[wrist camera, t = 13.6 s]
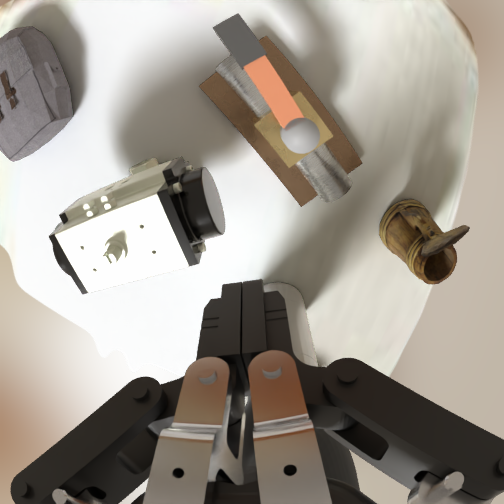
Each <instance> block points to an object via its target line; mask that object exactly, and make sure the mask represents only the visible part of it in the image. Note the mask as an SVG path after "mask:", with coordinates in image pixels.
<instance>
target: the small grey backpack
mask: <svg viewBox="0 0 504 504" xmlns="http://www.w3.org/2000/svg"><path fill="white" fill-rule="evenodd" d="M72 117H73V109H72V102H71V93H70V87H69V84H68V82H67V79H66V77H65V74H64V72H63V69H62V66H61V64H60V62H59V59H58V57H57V55H56V53H55V50H54V48H53V46H52V43H51V42H50V41H49V40H48V39H47V37H46V36H45V35H44V34H43V33H42V32H40V31H39V30H37V29H36V28H34V27H33V26H32V27H22V28H16V29H14V30H11V31H9V32H8V33H7V34H5V35H4V36H3V37H1V38H0V151H1V152H2V153H3V154H4V155H5V156H6V157H7V158H8V159H9V160H11V161H13V162H14V161H17V160H20V159H22V158H24V157H26V156H28V155H30V154H32V153H33V152H35V151H37V150H38V149H39V148H41V147H42V146H43V145H45V144H46V143H47V142H49V141H50V140H51V139H52V138H53V137H55V136H56V135H57V134H58V133H59V132H60V131H61V130H62V129H63V128H64V127H65V126H66V125H67V123H68V122H69V121H70V120H71V118H72Z"/></svg>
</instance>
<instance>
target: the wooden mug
mask: <svg viewBox="0 0 504 504" xmlns="http://www.w3.org/2000/svg"><path fill="white" fill-rule="evenodd" d="M469 229H470V228H469V227H468V226H466V225H463V226H460V227H458V228H455V229H453V230H450V231H448V232H445V233H444V232H442V231H441V229H440V228H439V227H438V225H437V224H436V223H435V222H434V220H433V219H432V218H431V215H430V213H429V212H428V210H427V209H426V208H425V207H424V206H423V205H422V204H421V203H420V202H418V201H416V200H413V199H407V200H403V201H401V202H398V203H396V204H395V205H393V206H392V207H391V208H390V209H389V210H388V211H387V212H386V214H385V215H384V217H383V218H382V221H381V223H380V229H379V236H380V238H381V240H382V241H383V243H384V244H385V246H386V247H387V248H388V249H389V250H390V251H391V252H392V253H393V254H395V255H397V256H398V257H399V258H400V259H402V260H403V261H404V262H405V263H406V264H407V266H408V267H409V269H410V271H411V272H412V273H413V274H415V275H416V276H417V277H418V278H419V279H421V280H423V281H424V282H425V283H427V284H439V283H440V282H442V281H443V280H445V279H447V278H448V277H449V276H450V275H451V274H452V272H453V271H454V268H455V266H456V262H457V254H456V250H455V248H454V247H453V244H455V243H456V242H457V241H459V240H460V239H461V238H462V237H463V236H464V235H465V234H466V233H467V232H468V231H469Z"/></svg>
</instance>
